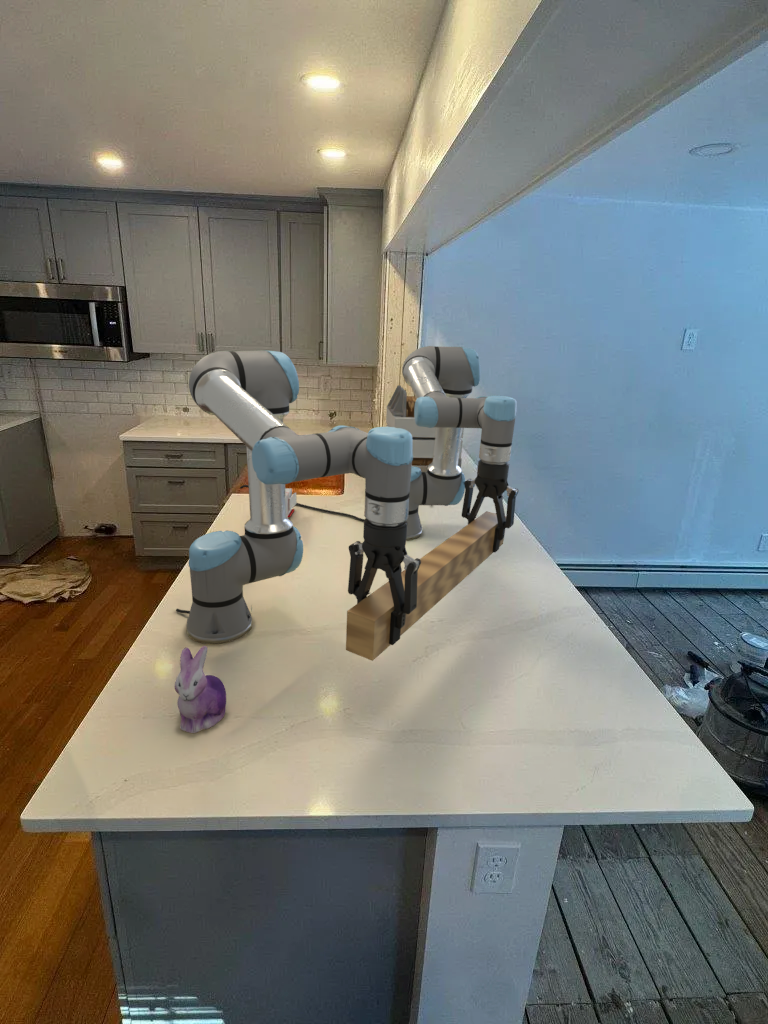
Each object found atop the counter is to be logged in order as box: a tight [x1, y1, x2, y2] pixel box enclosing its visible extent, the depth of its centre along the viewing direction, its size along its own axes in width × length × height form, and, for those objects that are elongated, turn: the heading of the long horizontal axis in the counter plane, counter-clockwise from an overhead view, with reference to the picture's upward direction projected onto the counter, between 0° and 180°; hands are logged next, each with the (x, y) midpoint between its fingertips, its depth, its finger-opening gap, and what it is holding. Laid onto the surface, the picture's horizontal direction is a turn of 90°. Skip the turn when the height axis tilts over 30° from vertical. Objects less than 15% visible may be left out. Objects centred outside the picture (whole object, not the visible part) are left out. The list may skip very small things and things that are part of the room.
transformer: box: [385, 384, 465, 469], centre depth 268 cm, size 34×33×41 cm
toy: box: [285, 487, 298, 519], centre depth 205 cm, size 12×13×30 cm
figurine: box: [174, 645, 227, 734], centre depth 105 cm, size 9×10×15 cm
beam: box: [345, 511, 506, 662], centre depth 125 cm, size 65×6×8 cm, turn 149°
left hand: (379, 635), depth 105 cm, fingers closed on beam, 6 cm apart
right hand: (483, 547), depth 147 cm, fingers closed on beam, 6 cm apart
